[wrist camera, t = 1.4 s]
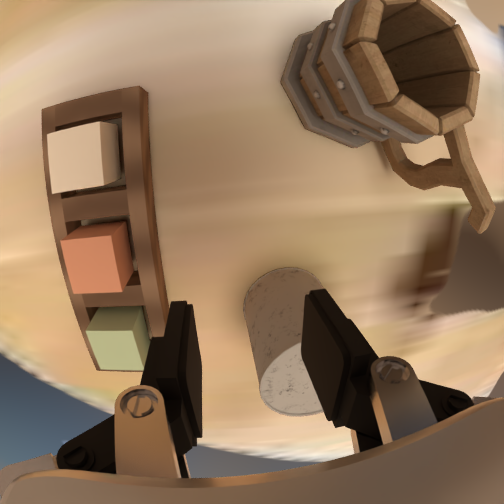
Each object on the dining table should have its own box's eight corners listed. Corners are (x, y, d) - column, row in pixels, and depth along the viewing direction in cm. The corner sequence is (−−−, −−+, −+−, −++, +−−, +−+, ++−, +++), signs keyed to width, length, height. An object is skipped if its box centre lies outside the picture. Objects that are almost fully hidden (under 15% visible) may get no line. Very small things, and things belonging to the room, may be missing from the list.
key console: (58, 111, 22) (41, 109, 19) (148, 92, 23) (139, 85, 20) (104, 352, 32) (96, 370, 29) (178, 352, 34) (175, 371, 30)
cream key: (70, 134, 22) (47, 134, 18) (117, 124, 22) (99, 121, 18) (74, 185, 23) (52, 193, 19) (121, 178, 24) (104, 185, 20)
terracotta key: (80, 225, 25) (60, 240, 21) (126, 221, 25) (111, 235, 21) (90, 273, 27) (73, 293, 22) (134, 270, 27) (122, 291, 23)
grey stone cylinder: (300, 346, 36) (331, 420, 24) (230, 326, 33) (240, 408, 22) (338, 283, 33) (391, 346, 22) (265, 254, 31) (296, 320, 19)
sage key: (99, 307, 28) (85, 330, 24) (141, 305, 29) (132, 330, 24) (110, 343, 30) (100, 369, 26) (150, 343, 30) (144, 370, 26)
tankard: (261, 52, 23) (308, -24, 9) (362, 21, 23) (447, -30, 9) (347, 223, 31) (435, 285, 17) (428, 176, 30) (526, 206, 16)
